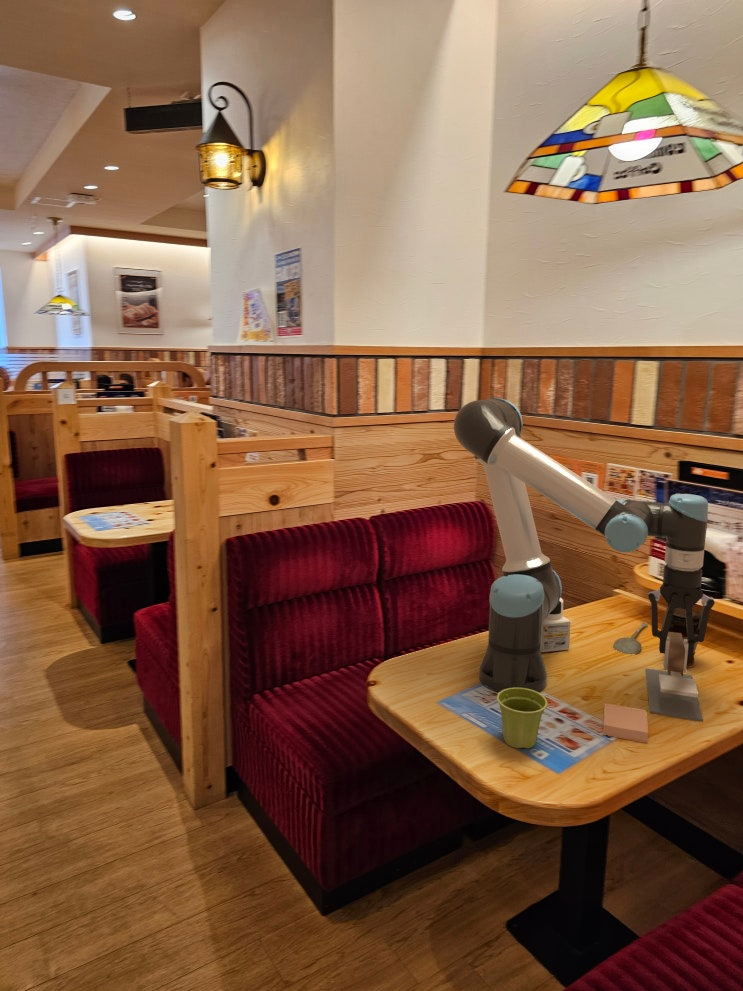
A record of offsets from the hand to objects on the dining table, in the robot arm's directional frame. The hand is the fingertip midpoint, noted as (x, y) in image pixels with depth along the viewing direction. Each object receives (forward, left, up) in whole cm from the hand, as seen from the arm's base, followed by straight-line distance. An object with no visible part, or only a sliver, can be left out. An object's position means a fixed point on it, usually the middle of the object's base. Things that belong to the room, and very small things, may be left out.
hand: (674, 667), depth 148 cm
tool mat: (0, -2, -5) cm, 6 cm away
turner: (0, -3, 0) cm, 3 cm away
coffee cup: (+3, +15, -5) cm, 16 cm away
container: (-28, +14, -5) cm, 32 cm away
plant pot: (-29, -33, -5) cm, 44 cm away
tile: (-10, -16, -4) cm, 20 cm away
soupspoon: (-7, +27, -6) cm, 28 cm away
